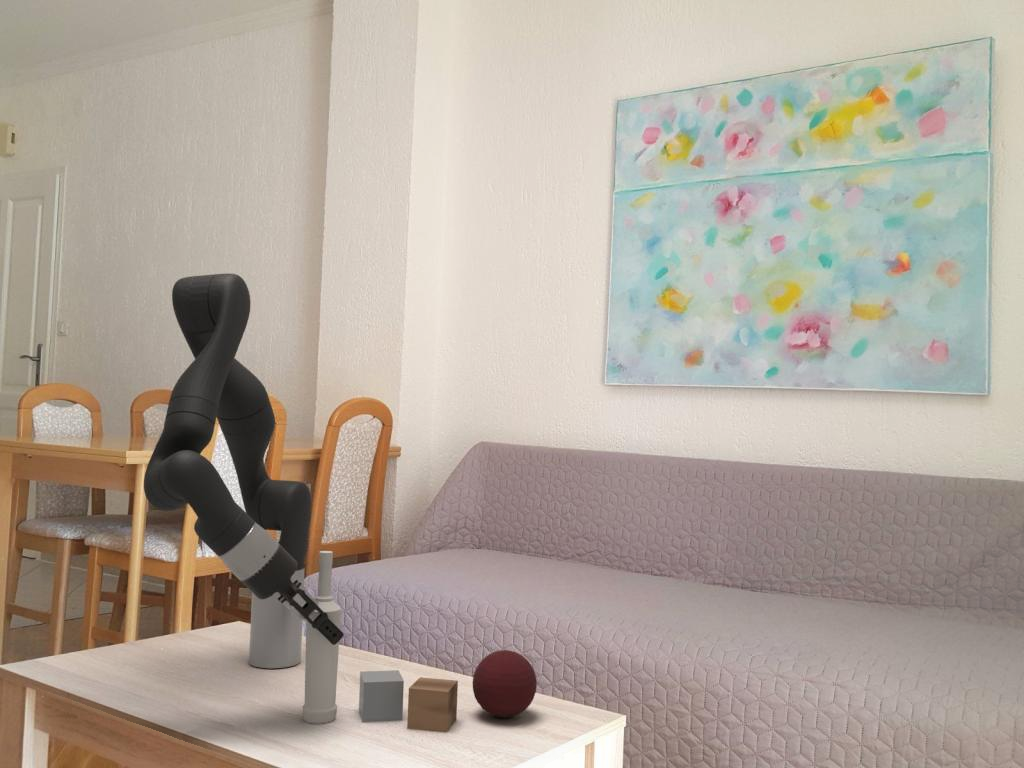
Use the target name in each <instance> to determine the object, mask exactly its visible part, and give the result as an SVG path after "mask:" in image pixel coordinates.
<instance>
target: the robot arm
mask: <svg viewBox="0 0 1024 768" xmlns="http://www.w3.org/2000/svg"><path fill="white" fill-rule="evenodd" d="M171 300H172V308H173V311H174V315H175V318H176V321H177V323H178V327H179V328H180V330H181V332H182V334H183V337H184V339H185V341H186V343H187V345H188V347H189V349H190V351H191V353H192V355H193V357H194V360H193V361H192V362H191V363H190V365H188V367H187V368H186V369H185V370H184V371H183V373H182V374H181V375H180V376H179V378H178V379H177V381H176V383H175V385H174V387H173V389H172V391H171V394H170V397H169V400H168V406H167V408H166V413H165V419H164V423H163V429H162V432H161V434H160V436H159V439H158V441H157V443H156V444H155V447H154V449H153V451H152V454H151V456H150V459H149V460H148V463H147V466H146V470H145V473H144V476H143V492H144V495H145V498H146V500H147V501H148V502H149V503H150V506H152V507H154V508H155V509H157V510H160V511H164V512H170V511H175V510H179V509H180V508H182V507H185V506H186V505H189V506H190V508H191V509H192V510H193V512H194V514H195V515H196V516H197V518H196V520H195V522H194V526H193V530H194V532H195V535H196V536H197V537H198V538H199V539H200V540H201V541H202V542H203V543H204V544H205V545H206V546H207V547H208V548H209V549H210V550H211V551H212V552H213V553H214V554H215V555H216V556H217V557H218V558H219V560H221V562H222V563H223V565H224V566H225V567H226V568H227V569H228V570H229V571H230V572H231V573H232V575H234V576H235V577H236V578H237V579H238V580H239V581H240V582H241V583H242V584H243V585H244V586H245V587H246V588H248V589H247V590H249V591H250V592H251V605H250V606H251V612H250V630H249V631H250V637H249V659H248V664H249V665H250V666H252V667H255V668H260V669H283V668H290V667H294V666H297V665H299V664H300V663H301V661H302V639H303V622H306V620H307V621H308V622H309V623H310V624H311V625H312V627H313V628H314V629H316V630H318V631H319V632H320V633H321V634H322V635H323V636H324V637H325V638H326V639H327V640H328V641H329V642H330V643H331V644H333V645H335V644H337V643H338V642H339V643H340V641H341V639H343V637H344V632H343V631H342V630H341V628H340V629H339V628H338V627H337V626H336V625H335V624H334V623H333V622H332V621H331V620H330V619H329V618H328V616H327V615H328V614H327V613H326V612H325V613H324V612H323V611H322V610H321V609H320V608H319V603H318V602H317V600H315V597H313V596H312V595H311V594H310V593H309V591H308V588H307V587H306V586H305V570H306V569H305V566H306V559H307V554H308V549H309V538H310V526H311V518H312V517H311V515H312V495H311V494H312V493H311V491H310V488H309V486H308V485H307V484H306V483H305V482H303V481H298V480H284V479H282V480H281V479H280V480H279V479H271V477H270V476H269V475H268V472H267V469H266V467H265V461H264V459H265V454H266V452H267V451H268V447H269V445H270V443H271V441H272V438H273V435H274V431H275V427H276V417H275V413H274V410H273V407H272V404H271V400H270V397H269V395H268V392H267V390H266V387H265V386H264V384H263V383H262V382H261V380H260V379H259V378H258V377H257V376H256V375H255V374H253V373H252V372H251V370H250V369H248V368H247V367H246V366H245V365H243V363H241V362H240V361H239V360H237V359H236V354H237V352H238V350H239V346H240V345H241V341H242V340H243V336H244V335H245V331H246V329H247V325H248V321H249V318H250V313H251V294H250V291H249V287H248V285H247V283H246V281H245V280H244V278H242V277H241V276H240V275H239V274H236V273H213V274H205V275H204V274H203V275H192V276H185V277H182V278H179V279H178V280H177V281H175V283H174V284H173V286H172V289H171ZM216 420H217V421H218V424H219V425H218V426H219V427H220V430H221V432H222V435H223V437H224V440H225V443H226V445H227V448H228V451H229V453H230V458H231V459H232V463H233V467H234V469H235V474H236V477H237V482H238V485H239V490H240V494H241V498H242V504H243V506H244V509H243V508H242V507H241V506H240V505H239V504H238V503H237V502H236V501H235V499H234V497H233V495H232V494H231V492H230V490H229V488H228V486H227V485H226V483H225V482H224V479H223V478H222V477H221V475H220V473H219V472H218V470H217V468H216V467H215V466H214V465H213V464H212V462H211V461H210V460H209V459H207V458H206V457H205V456H203V455H202V454H201V453H202V452H203V451H204V450H205V449H206V448H207V446H208V445H209V444H210V443H211V441H212V438H213V435H214V431H215V426H216ZM268 531H277V532H278V531H280V535H279V536H280V537H279V540H278V541H277V540H276V539H275V537H273V536H272V535H271V534H270V533H269V532H268ZM315 610H316V611H318V612H319V613H320V614H319V616H318V617H317V618H316V619H315V620H314V621H312V620H311V619H310V618H309V616H310V615H311V614H312V613H313V612H314V611H315Z"/></svg>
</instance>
